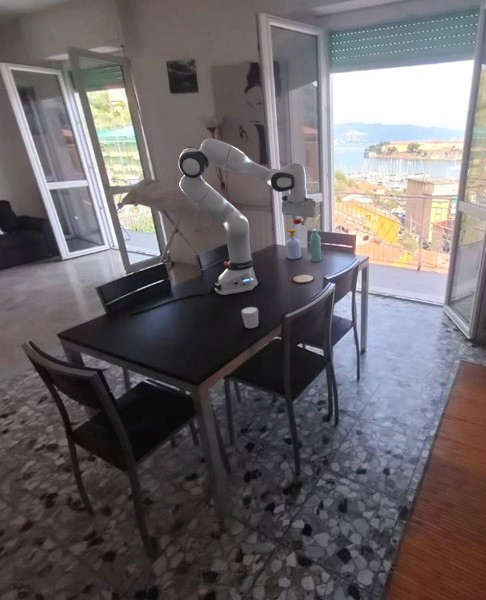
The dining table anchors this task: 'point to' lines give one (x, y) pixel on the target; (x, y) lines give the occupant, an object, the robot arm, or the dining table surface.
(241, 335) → the dining table surface
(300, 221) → the cap
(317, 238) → the bottle
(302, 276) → the coaster
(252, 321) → the white cylinder
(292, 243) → the soap bottle
